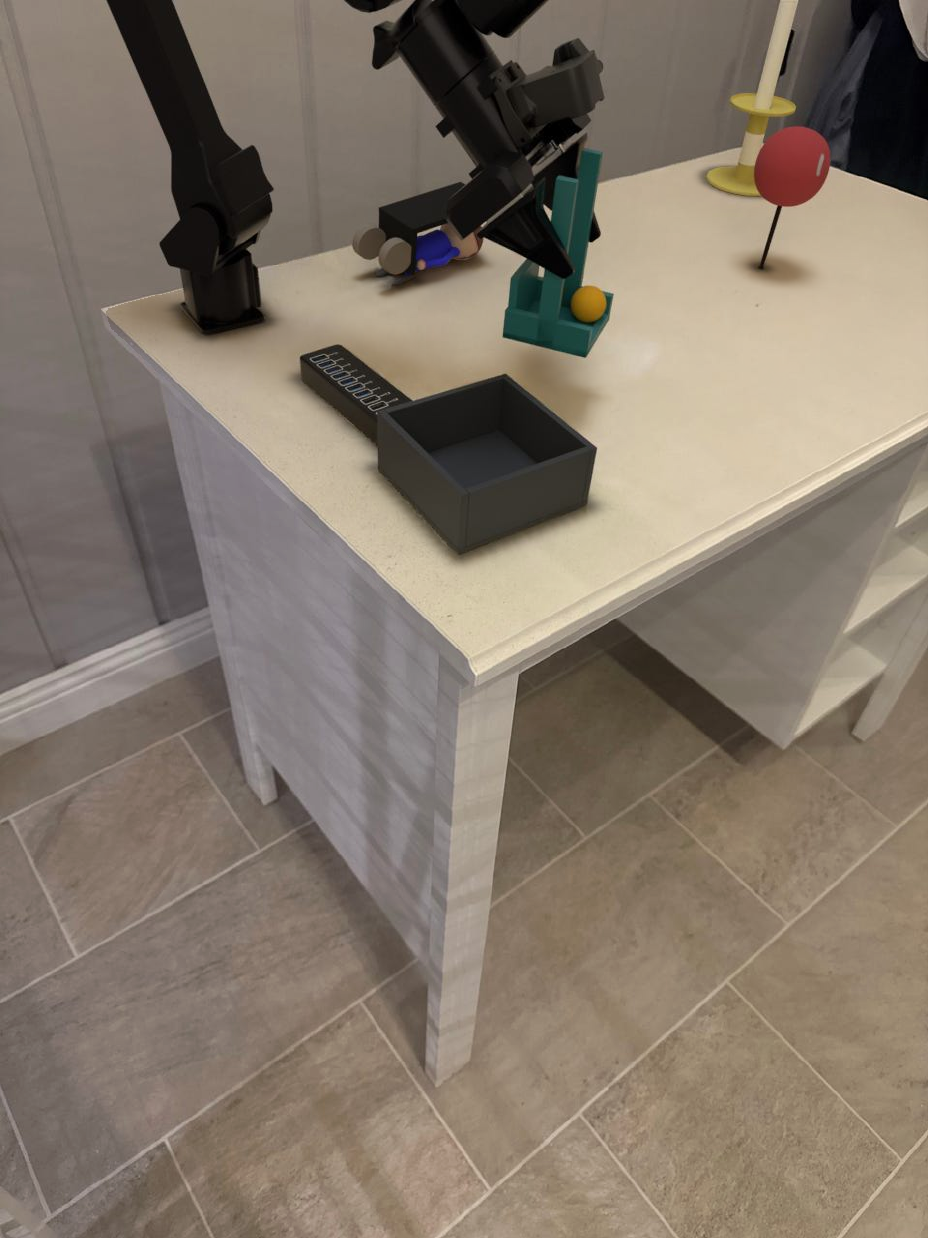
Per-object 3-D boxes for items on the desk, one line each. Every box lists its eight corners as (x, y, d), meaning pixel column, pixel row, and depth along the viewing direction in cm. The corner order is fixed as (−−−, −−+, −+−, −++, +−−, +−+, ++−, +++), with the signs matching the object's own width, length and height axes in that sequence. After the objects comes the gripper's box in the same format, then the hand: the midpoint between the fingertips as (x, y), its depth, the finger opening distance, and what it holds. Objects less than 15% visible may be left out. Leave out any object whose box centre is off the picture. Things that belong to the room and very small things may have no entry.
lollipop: (723, 274, 105) (760, 132, 94) (735, 248, 110) (771, 111, 99) (790, 288, 103) (836, 146, 93) (799, 262, 108) (843, 124, 98)
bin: (458, 555, 68) (462, 495, 64) (377, 469, 75) (376, 410, 71) (586, 505, 73) (597, 447, 69) (500, 429, 80) (505, 372, 76)
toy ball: (592, 314, 76) (612, 322, 79) (593, 278, 76) (614, 287, 78) (563, 320, 78) (583, 328, 81) (564, 284, 78) (585, 293, 80)
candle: (766, 201, 121) (836, -47, 102) (695, 183, 125) (749, -61, 106) (788, 179, 128) (857, -58, 109) (720, 163, 131) (775, -71, 112)
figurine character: (392, 310, 97) (497, 260, 103) (385, 241, 92) (497, 193, 98) (355, 286, 101) (459, 239, 107) (346, 218, 95) (456, 173, 101)
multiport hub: (340, 364, 86) (339, 342, 85) (432, 438, 79) (433, 415, 77) (299, 378, 84) (297, 355, 83) (389, 455, 76) (389, 431, 75)
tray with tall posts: (502, 337, 78) (518, 170, 68) (529, 301, 83) (548, 140, 73) (585, 358, 76) (614, 189, 67) (609, 320, 81) (639, 158, 71)
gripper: (500, 32, 57) (638, 244, 63) (583, -22, 70) (692, 159, 75) (386, 143, 65) (517, 325, 70) (479, 77, 77) (585, 235, 83)
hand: (583, 256), depth 74 cm, fingers closed on tray with tall posts, 7 cm apart
